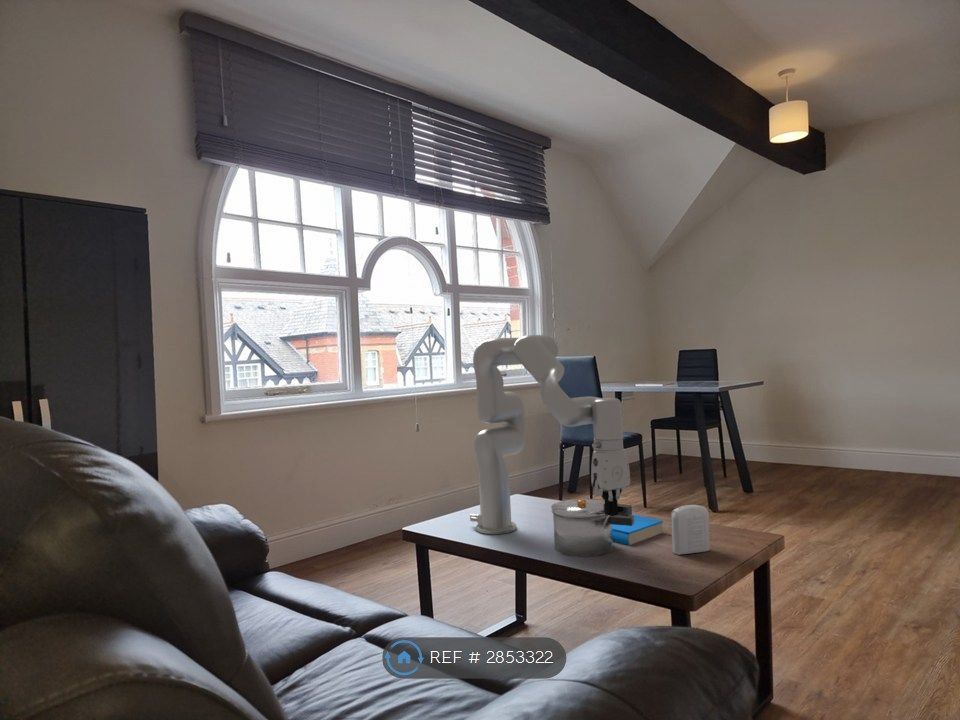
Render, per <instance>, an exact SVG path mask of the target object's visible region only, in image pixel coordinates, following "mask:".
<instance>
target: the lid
mask: <svg viewBox="0 0 960 720" xmlns="http://www.w3.org/2000/svg"><path fill="white" fill-rule="evenodd" d="M632 506H633V505H632V504H622V503H618V515H620V516H627V517H628V516H630V515H633V509H632ZM551 513H552V515H553V514H555V515H557V516H561V517H566V518H577V519H586V518H597V517H603V516H606V514H605V500H598V499H587V498H584V499H583V498H582V499H581V498H580V499H577V498H576V499H575V498H574V499H567V500H562V501H557V502H554V503H553V504H552V505H551Z"/></svg>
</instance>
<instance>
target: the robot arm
mask: <svg viewBox="0 0 960 720" xmlns="http://www.w3.org/2000/svg"><path fill="white" fill-rule="evenodd" d="M558 354H559V345H558V343H557V342H556V340H555V339H554V338H553V337H552V336H550V335H547V334H529V335H528V334H527V335H523V336H521V337H493V338H488V339H484V340H483V341H481V342H479V344H478V345H477V346H476V348H475V349H474V351H473V356H472V357H473V358H472V360H473V361H472V363H473V370H474V374H475V375H474V376H475V382H476V383H475V385H476V405H477V407H476V408H477V415H478V418H479V421H481V422H482V423H483V424H489V425H490V424H501V426H496V427H489V428H486V429H483V430H481V431H479V432H478V433H477V434H476V435H475V436H474V441H473V446H474V447H473V448H474V449H473V450H474V452H475V456H476V461H477V469H478V470H477V471H478V484H479V485H478V488H479V489H478V490H479V511H480V513H479V514H477V513H470V515H469V521H470V522H476V523H477V524H476V527H475V528H476V529H475V530H476V531H477V532H478V533H481V534H486V535H501V534H508V533H512V532H515V530H516V529H517V523H516V522H514V521H512V508H511V486H510V483H511V482H510V472H509V471H510V470H509V468H508V466H507V463H506V461H505V460H504V458H505V457H509V456H515V455H517V454H520V453H521V452H522V451H523V450H524V448H525V445H526V421H525V418H526V417H525V406H524V402H523V400H522V398H521V396H519V395H518V393H515V392H513V391H505V389H504V387H505V386H504V378H503V374H502V373H501V370H500V369H499V368H498V367H499V366H514V365H515V366H516V365H521V366H523V368H524V369H525V370H526V371H527V372H528V373H529V374H530V376H532V378H533V379H534V380H535V381H536V382H537V383H538V384H539V386H540V395H541V399H542V403H543V405H544V407H545V408H546V409H547V411H548V412H549V413H550V414H551V415H552V417H553V418H555V420H557V422H558V423H560V424H561V425H562V426H565V427H570V428H574V427H579V426H583V425H584V426H586V425H590V424H591V425H592V427H593V430H592V431H593V443H592V444H591V447H592V449H593V450H594V451H592V456H591V468H590V469H591V470H590V472H591V474H590V475H591V476H590V477H591V478H590V479H591V486H592V488H593V495H595V496H600V497H601V499H602V501H605V514H606V515H610V516H616V515H618V504H619V503H618V500H620V495H621V493H622V492H624V491H626V490H627V488H628V487H629V486H630V484H631V471H630V465H629V464H630V463H629V457H628V453H627V451H626V449H625V448H624V434H623V430H624V429H623V412H622V411H623V410H622V402H621V400H620V399H618V398H617V397H597V396H591V395H590V396H588V395H587V396H577V397H573V398H572V397H570V396H568V395H567V394H566V392H565V391H564V390H563V389H562V388H561V386H560V385H559V382H560V381H561V380H562V378H563V376H564V375H565V367H564V365H563V364H562V363H561V362H560V361H559V360H558V359H557V356H558Z"/></svg>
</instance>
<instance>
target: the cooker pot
mask: <svg viewBox="0 0 960 720" xmlns="http://www.w3.org/2000/svg"><path fill="white" fill-rule="evenodd" d="M552 515H553V517H552V518H553V538H554V539H553V540H554V542H553V543H554V544H553V545H554V550H555V551H556V552H557V551H558V552H557V553H559V552H560V553H559V554H561V553H562V555H564V554H565V555H564V556H569V555H570V557H576V556H577V557H578V558H579V557H581V558H589V557H598V556H604V555H606V554H609V553H611V552H612V551H613V549H614V543H613V542H614V541H613V536H612V524H613V525H626V526H632V525H633V524H634V516H632V515H633V514H632V515H630V516H628V517H627V516H620V515H616V516H610V515H606V516H603V517H597V518H586V519H577V518H566V517H561V516H557V515H555V514H553V513H552Z"/></svg>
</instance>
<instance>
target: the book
mask: <svg viewBox="0 0 960 720" xmlns="http://www.w3.org/2000/svg"><path fill="white" fill-rule="evenodd" d="M632 516H634V524H633V525H632V526H626V525H613V524H612V536H613V542H614V543H619V544H624V545H627V546H629V545H630V546H631V545H633V544H636V543H639V542H641V541H644V540H647V539H650V538H652V537H655V536H657V535H660V533H661V534H663V533H664V532H663V531H664V528H663V525H664V524H663V523H664V520H663V519H662V520H661V519H656V518H653V517H647V516H640V515H636V514H632Z"/></svg>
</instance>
